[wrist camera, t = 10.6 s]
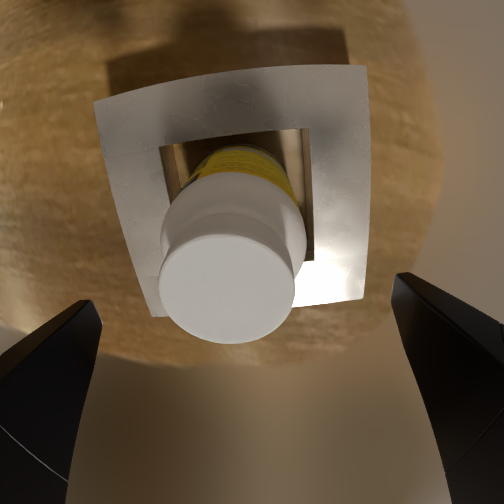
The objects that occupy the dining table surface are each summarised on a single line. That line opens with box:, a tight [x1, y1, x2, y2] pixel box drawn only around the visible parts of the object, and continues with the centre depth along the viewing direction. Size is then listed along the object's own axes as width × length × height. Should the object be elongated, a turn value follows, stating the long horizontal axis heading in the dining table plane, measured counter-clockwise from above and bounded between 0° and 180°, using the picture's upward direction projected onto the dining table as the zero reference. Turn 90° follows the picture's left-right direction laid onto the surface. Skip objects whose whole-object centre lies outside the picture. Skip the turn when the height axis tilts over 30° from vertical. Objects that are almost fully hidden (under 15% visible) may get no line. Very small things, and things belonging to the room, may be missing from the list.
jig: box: [93, 64, 371, 317], centre depth 16 cm, size 13×13×2 cm
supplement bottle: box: [158, 144, 307, 344], centre depth 13 cm, size 5×5×10 cm
